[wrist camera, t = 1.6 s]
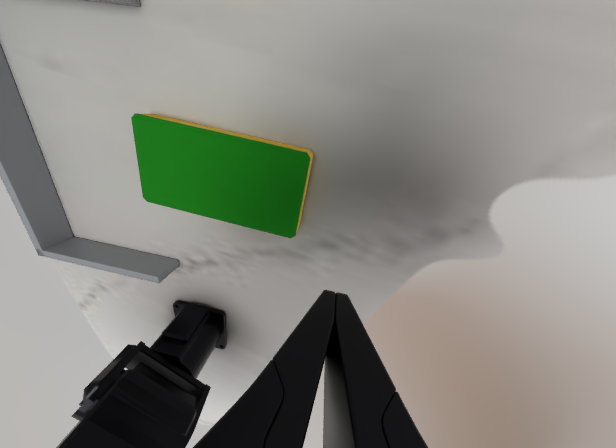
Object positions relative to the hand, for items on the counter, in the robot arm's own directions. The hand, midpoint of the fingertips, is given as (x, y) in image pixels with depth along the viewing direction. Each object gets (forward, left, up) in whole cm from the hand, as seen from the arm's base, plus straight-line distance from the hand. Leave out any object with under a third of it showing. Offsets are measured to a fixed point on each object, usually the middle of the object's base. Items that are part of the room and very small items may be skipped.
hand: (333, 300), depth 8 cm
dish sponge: (0, +10, -13) cm, 16 cm away
